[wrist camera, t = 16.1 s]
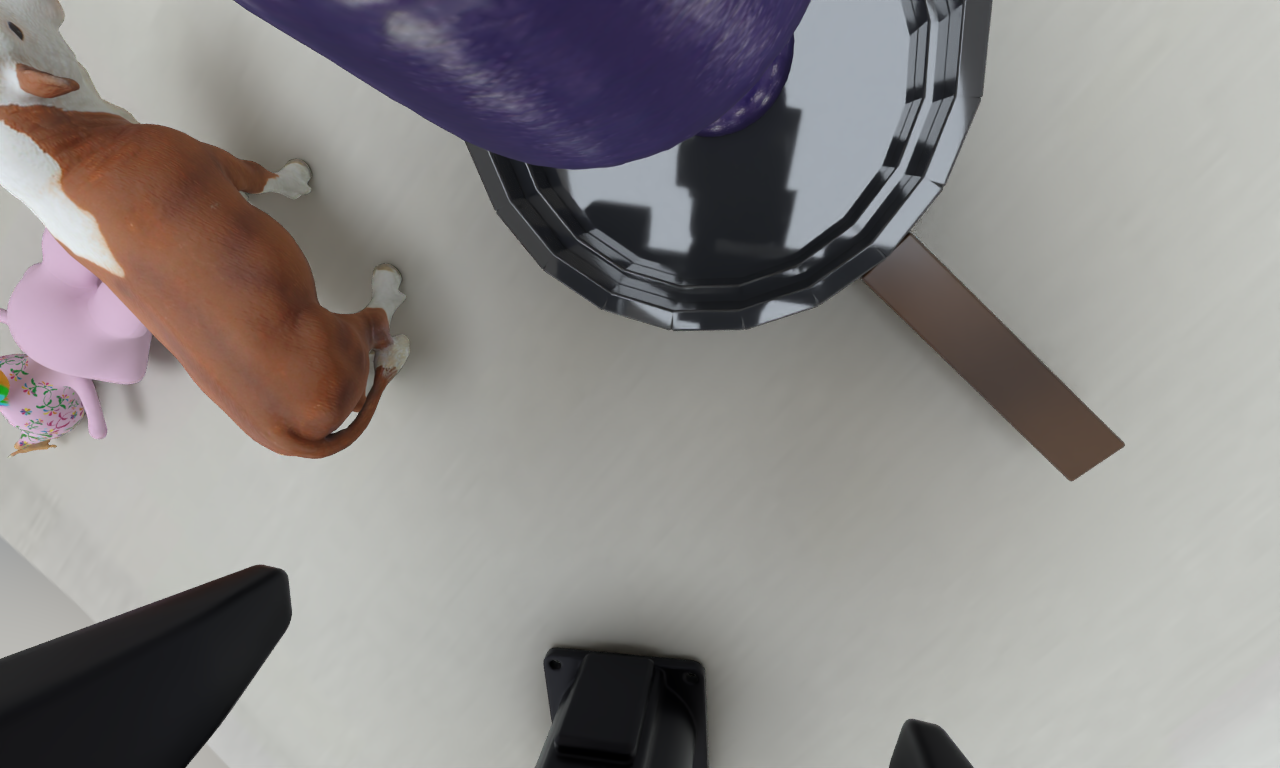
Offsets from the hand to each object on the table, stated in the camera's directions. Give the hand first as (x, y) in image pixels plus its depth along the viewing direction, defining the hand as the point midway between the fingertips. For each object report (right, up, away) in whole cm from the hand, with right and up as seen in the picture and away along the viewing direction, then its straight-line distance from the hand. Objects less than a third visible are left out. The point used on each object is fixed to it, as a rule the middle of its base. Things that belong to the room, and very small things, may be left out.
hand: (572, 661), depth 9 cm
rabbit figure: (-19, +6, +16) cm, 26 cm away
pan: (+3, +12, +9) cm, 16 cm away
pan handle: (+10, +5, +8) cm, 14 cm away
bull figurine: (-10, +9, +13) cm, 19 cm away
